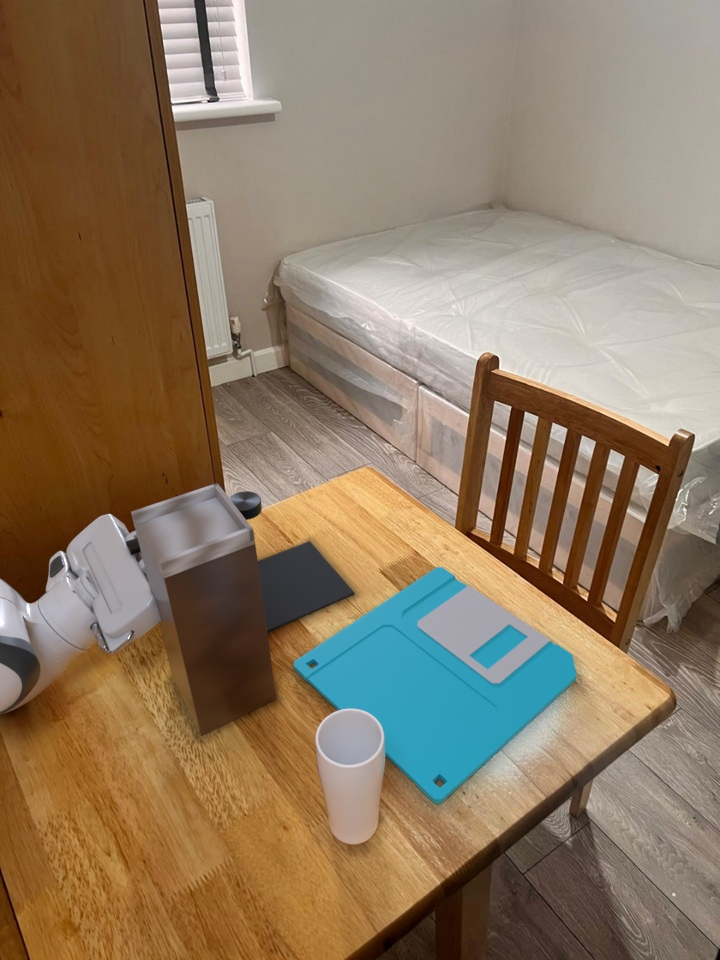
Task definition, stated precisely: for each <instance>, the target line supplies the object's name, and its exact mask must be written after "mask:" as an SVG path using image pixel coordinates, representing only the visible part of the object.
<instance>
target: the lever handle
mask: <svg viewBox="0 0 720 960" xmlns="http://www.w3.org/2000/svg"><path fill="white" fill-rule="evenodd" d="M229 499H230V500H231V501H232V503H233V504H234V505H235V506H236V508H237V509H238V510H239V511H240V513H241V514H242V515H243V517H244V518H245V519H246V520H247V521H249V520H252V519H255V518H257V517H258V516H259V515H260V514H261V513H262V510H263V506H262V498H261V496H260V494H258V493H257V492H254V491H251V490H250V491H249V490H248V491H247V490H243V491H238V492H236V493H234V494H232V495H231V496H229ZM126 546H127V548H128V550H129V552H130V554H131V555H133V554H136V553H139V552H140V553H141V550H140V546H139V542H138V538H135V539H132V540H129V541H126Z"/></svg>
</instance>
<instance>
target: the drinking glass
mask: <svg viewBox="0 0 720 960" xmlns="http://www.w3.org/2000/svg"><path fill="white" fill-rule="evenodd" d="M314 740H315V762H316V768H317V775H318V778H319V782H320V787H321V791H322V796H323V799H324V804H325V808H326V812H327V820H328V827H329V830H330V831H331V833H332V835H333V837H335V838H336V839H337V840H338V841H339V842H341V843H343V844H346V845H351V846H352V845H361V844H364V843H365V842H367V841H368V840H369V839H372V837H373V836H374V834H375V833H376V831H377V829H378V826H379V820H380V819H379V818H380V817H379V816H380V815H379V814H380V813H379V812H380V805H381V804H380V803H381V796H382V789H383V783H384V776H385V768H386V756H385V739H384V731H383V728H382V726H381V724H380V723H379V721H378V720H377V719H376V718H375V717H374V716H373V715H371V714H369V713H368V712H366V711H363V710H359V709H342V710H339V711H338V710H336V711H333V712H332V713H330V714H329V715H327V716H326V717H325V718H324V719H323V720H322V721H321V722H320V724H319V725H318V727H317V729H316V733H315V739H314Z"/></svg>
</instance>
